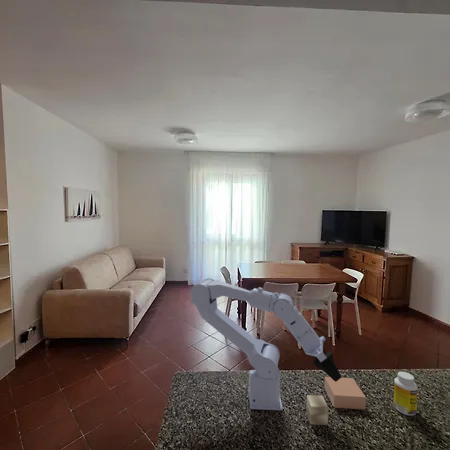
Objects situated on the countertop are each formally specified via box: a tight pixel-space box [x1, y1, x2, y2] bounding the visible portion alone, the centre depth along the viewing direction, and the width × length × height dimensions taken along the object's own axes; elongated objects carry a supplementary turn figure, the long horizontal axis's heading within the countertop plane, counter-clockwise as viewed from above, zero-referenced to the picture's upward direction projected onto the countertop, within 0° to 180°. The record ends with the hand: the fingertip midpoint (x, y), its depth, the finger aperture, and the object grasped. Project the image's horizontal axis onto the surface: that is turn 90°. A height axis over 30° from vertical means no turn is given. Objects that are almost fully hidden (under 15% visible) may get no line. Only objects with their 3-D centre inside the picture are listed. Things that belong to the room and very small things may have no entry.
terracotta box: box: [324, 376, 367, 410], centre depth 80 cm, size 9×9×4 cm
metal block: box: [305, 394, 329, 426], centre depth 72 cm, size 4×4×5 cm
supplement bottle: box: [393, 371, 418, 417], centre depth 75 cm, size 6×6×10 cm
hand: (333, 373), depth 73 cm, fingers open, 7 cm apart
